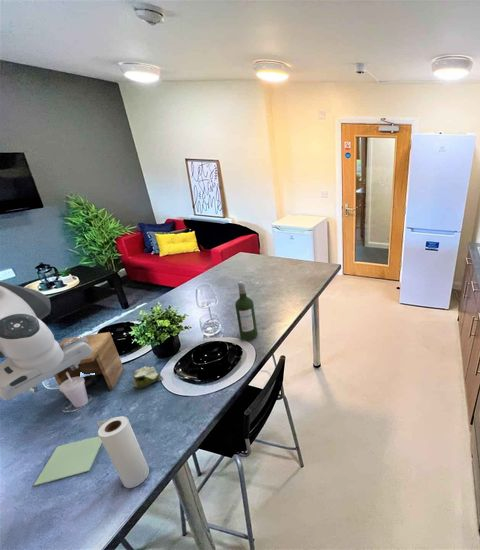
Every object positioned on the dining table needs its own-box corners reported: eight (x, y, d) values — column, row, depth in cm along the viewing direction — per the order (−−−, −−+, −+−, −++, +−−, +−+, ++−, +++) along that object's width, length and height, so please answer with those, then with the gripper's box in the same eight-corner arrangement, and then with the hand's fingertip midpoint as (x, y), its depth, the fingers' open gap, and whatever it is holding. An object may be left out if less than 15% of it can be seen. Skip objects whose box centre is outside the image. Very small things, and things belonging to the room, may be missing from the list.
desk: (60, 407, 102) (37, 367, 95) (81, 376, 116) (63, 338, 108) (108, 397, 107) (91, 358, 99) (124, 368, 120) (109, 331, 113)
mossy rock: (148, 395, 110) (137, 382, 106) (131, 390, 113) (120, 377, 109) (168, 375, 117) (159, 362, 113) (152, 371, 120) (142, 358, 116)
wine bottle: (254, 329, 149) (246, 277, 137) (259, 336, 144) (252, 283, 131) (238, 334, 144) (229, 281, 132) (243, 342, 139) (234, 287, 127)
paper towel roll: (151, 478, 82) (129, 426, 73) (124, 493, 78) (98, 441, 70) (146, 459, 87) (125, 408, 78) (121, 473, 83) (96, 421, 74)
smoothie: (93, 393, 108) (79, 364, 103) (93, 404, 104) (78, 374, 98) (70, 401, 104) (54, 371, 99) (68, 413, 100) (52, 383, 94)
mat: (33, 486, 79) (33, 485, 79) (57, 446, 89) (57, 446, 89) (88, 471, 83) (88, 470, 83) (105, 435, 93) (105, 434, 93)
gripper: (78, 327, 87) (88, 349, 96) (-22, 376, 72) (2, 398, 81) (92, 340, 87) (101, 361, 96) (-6, 392, 71) (16, 412, 80)
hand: (55, 378), depth 88 cm, fingers open, 8 cm apart
